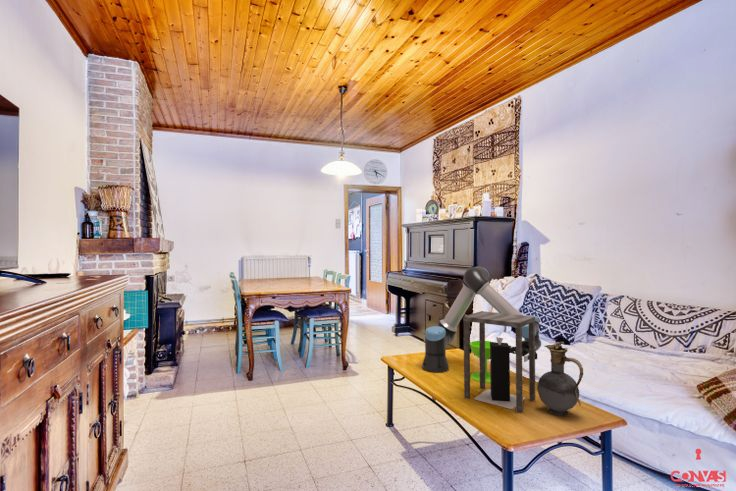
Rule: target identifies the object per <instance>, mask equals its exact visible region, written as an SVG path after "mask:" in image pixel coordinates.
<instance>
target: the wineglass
mask: <svg viewBox="0 0 736 491" xmlns="http://www.w3.org/2000/svg"><path fill="white" fill-rule="evenodd" d="M490 342H492V341H489V340H485V384H486V383H488V384H491V382H490V371H488V360H490ZM470 350H471V352H472V353H473V355H474V356H476V357H477V358H478V359H480V341H479V340H474V341H470ZM470 377H471V378H472V379H471V378H470V379H471V380H473V381H475V382H479V383H480V371H474V372H472V373H470Z"/></svg>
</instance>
